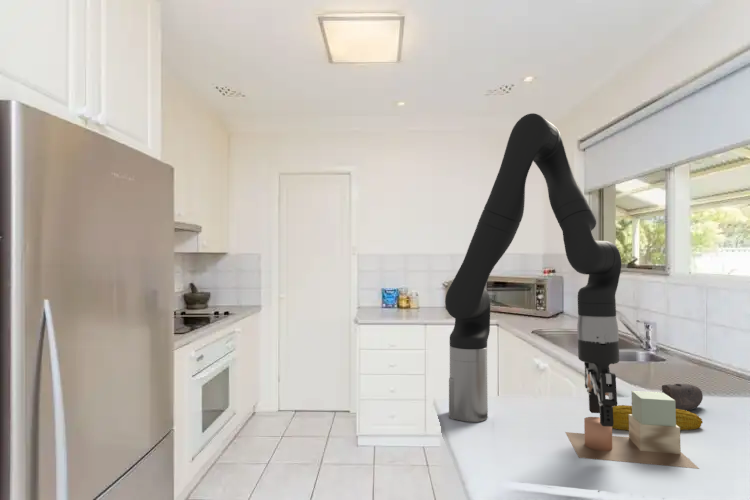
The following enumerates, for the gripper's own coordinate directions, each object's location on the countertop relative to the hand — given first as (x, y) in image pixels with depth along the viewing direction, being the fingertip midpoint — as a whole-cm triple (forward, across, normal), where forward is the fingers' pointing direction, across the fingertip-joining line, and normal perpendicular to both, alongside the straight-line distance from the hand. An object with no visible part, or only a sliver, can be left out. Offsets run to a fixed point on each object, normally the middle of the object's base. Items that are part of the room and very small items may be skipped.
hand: (600, 418), depth 92 cm
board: (+6, 0, +4) cm, 8 cm away
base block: (+6, -3, +10) cm, 12 cm away
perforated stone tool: (+7, -35, +29) cm, 46 cm away
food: (+7, -15, +15) cm, 22 cm away
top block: (0, -3, +10) cm, 11 cm away
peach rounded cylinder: (+5, 0, -1) cm, 5 cm away
